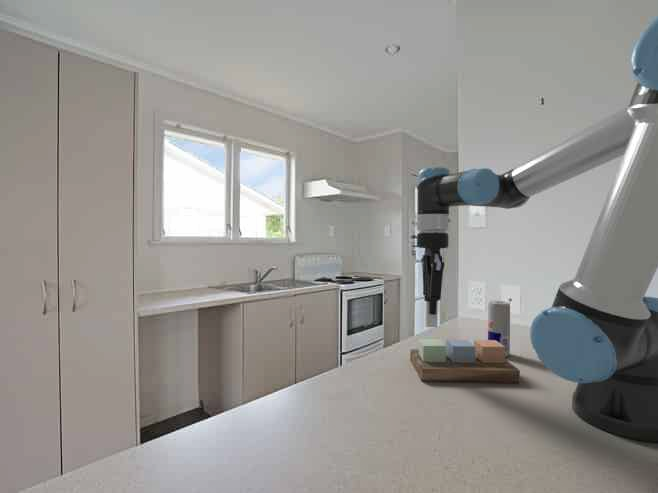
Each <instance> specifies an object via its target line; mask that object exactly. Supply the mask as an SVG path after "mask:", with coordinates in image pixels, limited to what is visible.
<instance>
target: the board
mask: <svg viewBox="0 0 658 493" xmlns="http://www.w3.org/2000/svg"><path fill="white" fill-rule="evenodd" d="M409 357H410V359H409V360H410V362H411V364H412V366H413V368H414V369H415V371H416V374H417V376H418V377H419V379H420V381H421V382H424V383H425V382H427V383H431V382H433V383H475V384H476V383H477V384H478V383H481V384H485V383H486V384H488V383H489V384H520V382H521V380H520V379H521V378H520V377H521V376H520V372H521V371H520V369H518V368H517V367H516V366H515V365H513V364H512V363H511V362H509V361H508V360H506V359H505V363H482V362H480V361H479V360H478V359H477V358H476V357H475V363H453V362H452V361H451V360H450V359H449V358H448V357H447V355H446V362H423V361H422V359H421V358H420V356H419V348H418V349H416V348H410V356H409Z"/></svg>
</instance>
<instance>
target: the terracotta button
mask: <svg viewBox="0 0 658 493" xmlns="http://www.w3.org/2000/svg"><path fill="white" fill-rule="evenodd" d="M473 345H474V346H476V351H475V357H476V358H477V359H478V360H479V361H480V362H482V363H505V360H506V356H505V346H503V345H502V344H500V343H499V342H497V341H496V340H488V339H473Z"/></svg>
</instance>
